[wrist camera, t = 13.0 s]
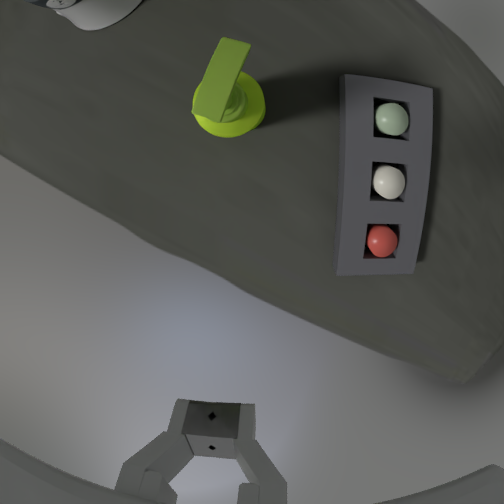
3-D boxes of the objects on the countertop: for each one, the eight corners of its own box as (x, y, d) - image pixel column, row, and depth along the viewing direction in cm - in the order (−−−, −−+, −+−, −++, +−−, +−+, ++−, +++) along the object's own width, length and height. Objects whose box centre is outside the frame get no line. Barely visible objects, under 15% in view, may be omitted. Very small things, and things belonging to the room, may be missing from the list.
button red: (365, 221, 38) (371, 228, 36) (391, 221, 38) (399, 229, 35) (362, 248, 40) (368, 257, 37) (387, 247, 40) (394, 257, 37)
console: (338, 77, 31) (344, 73, 28) (422, 89, 30) (432, 88, 28) (332, 265, 42) (336, 275, 39) (405, 264, 41) (413, 273, 39)
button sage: (370, 102, 32) (379, 101, 29) (398, 105, 31) (408, 105, 29) (370, 132, 33) (378, 133, 30) (398, 135, 33) (408, 137, 30)
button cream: (369, 162, 35) (377, 166, 32) (396, 164, 35) (406, 168, 32) (367, 192, 37) (375, 198, 34) (394, 193, 36) (403, 199, 34)
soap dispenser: (275, 88, 32) (283, 53, 14) (255, 138, 35) (242, 157, 17) (230, 73, 32) (190, 27, 14) (211, 123, 35) (152, 128, 16)
